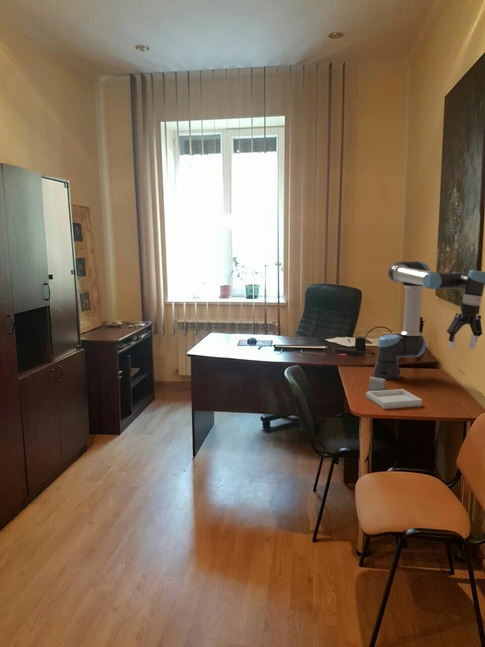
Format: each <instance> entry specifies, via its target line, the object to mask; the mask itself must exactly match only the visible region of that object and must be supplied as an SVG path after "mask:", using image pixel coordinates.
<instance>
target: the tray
mask: <svg viewBox="0 0 485 647" xmlns="http://www.w3.org/2000/svg"><path fill="white" fill-rule="evenodd" d="M365 398H366V399H367V400H369V401H371V403H373V404H375V405H376V406H378V407H380V408H381V409H383V410H387V409H389V410H390V409H397V408H398V409H399V408H412V407H414V408H415V407H422V406H423V399H422V398H420V397H417V396H416V395H415V394H412V393H411V392H409V391H407V390H405V389H404V388H399V389H397V388H396V389H385V390H383V391H369V390H368V391H366V392H365Z"/></svg>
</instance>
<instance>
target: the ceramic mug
mask: <svg viewBox="0 0 485 647" xmlns="http://www.w3.org/2000/svg"><path fill="white" fill-rule="evenodd" d="M386 384H387V379H382V378H378V377H375V376H369V383H368V391H383V390H386V387H387V385H386Z"/></svg>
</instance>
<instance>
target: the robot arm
mask: <svg viewBox="0 0 485 647" xmlns="http://www.w3.org/2000/svg"><path fill="white" fill-rule="evenodd" d="M387 274H388V275H387V276H388V278H389V279H390V280H391V281H392V282H394V283H401V284H402V287H404V289H405V290H404V309H403V311H404V312H403V328H402V331H400V333H399V334H395V333H394V334H393V333H392V334H391V333H390V334H389V333H388V334H384V335H380V336H379V338H378V340H377V352H376V353H377V354H376V362H375V365H374V368H373V370H372V375H373V377H376V378H382V379H385V380H397V379H400V378H401V370H400V369H401V368H400V366H399V358H416V357H417V358H418V357H420V356H422V355H423V354H424V353H425V351H426V346H427V342H426V339H425V338H424V336H423V334H422V333H421V331H420V325H421V324H420V322H421V306H422V293H423V292H422V291H423V289H424V288H426V289H428V290H430V289H431V290H442V289H446V290H449V289H450V290H452V289H454V290H455V289H460V290H464V293H463V297H462V304H461V307H460V311H461V313H458V312H457V313H455V315H454V318H453V320H452V322H451V323H450V325H449V326H448V328H447V330H446V333H448V334H449V337H448V345H447V348H448V349H452V350H454V348H455V345H456V344H455V343H456V340H457V335H456V334H457V333H459V331H460V330H461V329H462V327H463V326H465V325H469V327H470V330H471V332H472V334H471V335H470V340H469V344H468V349H471V350H476V344H477V342H478V338H479V337H481V336H482V335H483V328H482V323H481V322H482V321H481V320H482V315H481V314H480V315H479V311H480V306H481V302H482V299H483V294H484V290H485V271H481V270H473V269H471V270H469V271H468V273H466V272H461V271H453V272H435V271H431V270H430V267H429V265H428V264H427V263H425V262H424V261H396V262H394V263H393V264H392V263H391V265H390V266H389V268H388V270H387Z"/></svg>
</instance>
